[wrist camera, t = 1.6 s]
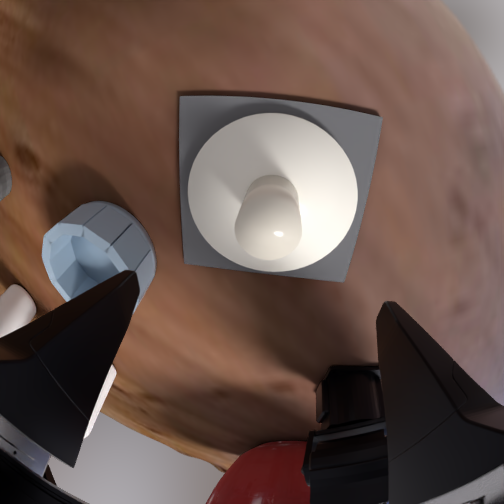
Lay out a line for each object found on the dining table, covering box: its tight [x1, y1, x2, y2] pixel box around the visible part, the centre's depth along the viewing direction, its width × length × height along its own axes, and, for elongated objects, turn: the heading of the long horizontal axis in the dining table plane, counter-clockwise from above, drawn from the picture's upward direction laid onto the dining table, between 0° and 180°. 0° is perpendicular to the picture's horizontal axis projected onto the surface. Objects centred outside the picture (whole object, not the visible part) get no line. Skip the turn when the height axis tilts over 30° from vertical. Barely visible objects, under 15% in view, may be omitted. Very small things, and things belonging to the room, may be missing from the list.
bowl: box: [42, 201, 157, 314], centre depth 20 cm, size 9×9×4 cm
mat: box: [179, 96, 383, 282], centre depth 18 cm, size 12×12×1 cm
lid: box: [188, 113, 358, 272], centre depth 15 cm, size 10×10×5 cm
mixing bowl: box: [206, 441, 310, 504], centre depth 36 cm, size 28×28×16 cm
